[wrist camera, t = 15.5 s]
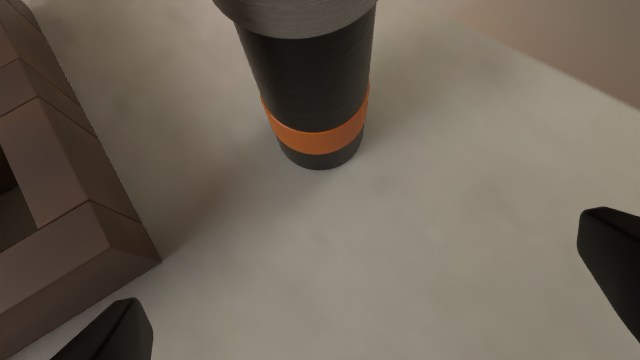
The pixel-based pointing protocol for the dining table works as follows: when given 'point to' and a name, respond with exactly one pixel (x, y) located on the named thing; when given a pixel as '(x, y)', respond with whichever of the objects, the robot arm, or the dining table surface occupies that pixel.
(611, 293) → the robot arm
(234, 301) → the dining table surface
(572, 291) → the dining table surface
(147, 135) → the dining table surface
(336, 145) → the flashlight
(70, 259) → the tool caddy
